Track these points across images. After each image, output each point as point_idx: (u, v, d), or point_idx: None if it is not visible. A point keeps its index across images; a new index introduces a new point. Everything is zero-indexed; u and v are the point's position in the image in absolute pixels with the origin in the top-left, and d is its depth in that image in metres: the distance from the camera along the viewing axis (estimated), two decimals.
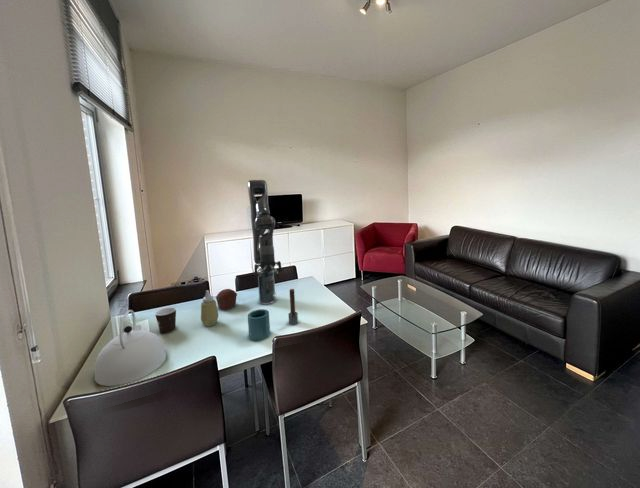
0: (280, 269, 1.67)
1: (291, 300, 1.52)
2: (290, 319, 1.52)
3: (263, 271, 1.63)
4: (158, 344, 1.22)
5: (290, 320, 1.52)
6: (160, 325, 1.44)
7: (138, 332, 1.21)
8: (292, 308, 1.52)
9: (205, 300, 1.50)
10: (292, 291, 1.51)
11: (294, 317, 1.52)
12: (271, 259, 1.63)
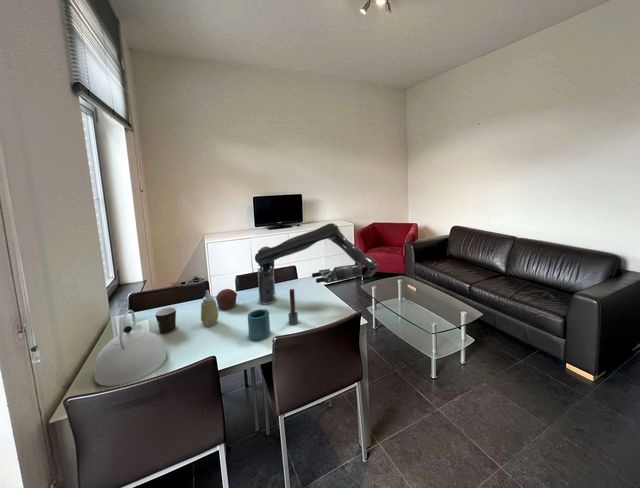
0: None
1: (291, 300, 1.52)
2: (290, 319, 1.52)
3: (327, 280, 1.57)
4: (157, 344, 1.22)
5: (290, 320, 1.52)
6: (160, 325, 1.44)
7: (138, 332, 1.21)
8: (292, 308, 1.52)
9: (205, 300, 1.50)
10: (292, 291, 1.51)
11: (294, 317, 1.52)
12: None
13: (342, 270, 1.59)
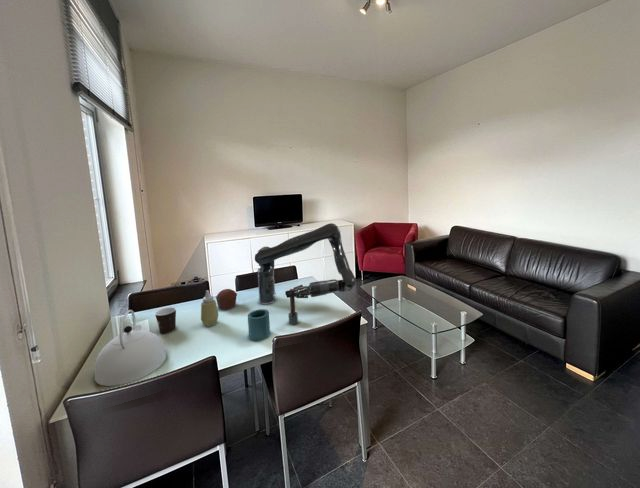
0: None
1: (291, 300, 1.52)
2: (290, 319, 1.52)
3: (300, 295, 1.53)
4: (157, 344, 1.22)
5: (290, 320, 1.52)
6: (160, 325, 1.44)
7: (138, 332, 1.21)
8: (292, 308, 1.52)
9: (205, 300, 1.50)
10: (292, 291, 1.51)
11: (294, 317, 1.52)
12: None
13: (318, 286, 1.55)
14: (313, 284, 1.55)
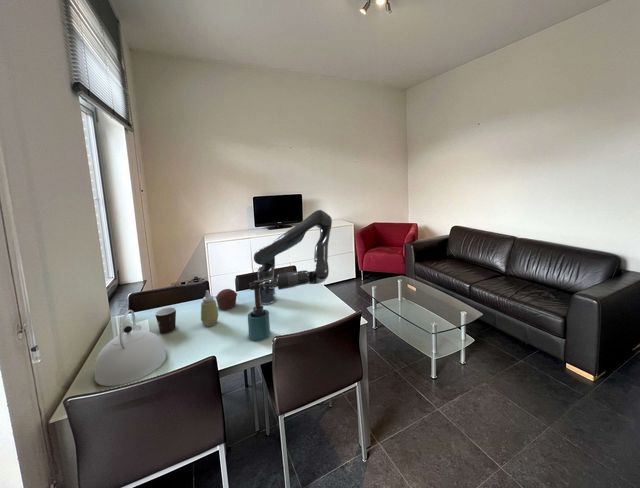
0: None
1: (255, 293, 1.39)
2: (255, 313, 1.39)
3: None
4: (157, 344, 1.22)
5: (255, 314, 1.39)
6: (160, 325, 1.44)
7: (138, 332, 1.21)
8: (257, 301, 1.39)
9: (205, 300, 1.50)
10: (256, 283, 1.38)
11: (259, 311, 1.39)
12: None
13: (285, 277, 1.42)
14: (280, 275, 1.42)
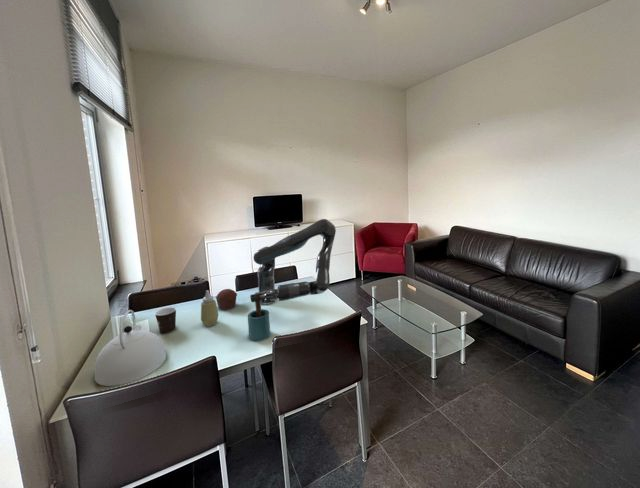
0: None
1: (256, 304, 1.39)
2: None
3: None
4: (157, 344, 1.22)
5: None
6: (160, 325, 1.44)
7: (138, 332, 1.21)
8: (258, 313, 1.40)
9: (205, 300, 1.50)
10: (257, 295, 1.39)
11: None
12: None
13: (286, 289, 1.43)
14: (281, 287, 1.43)
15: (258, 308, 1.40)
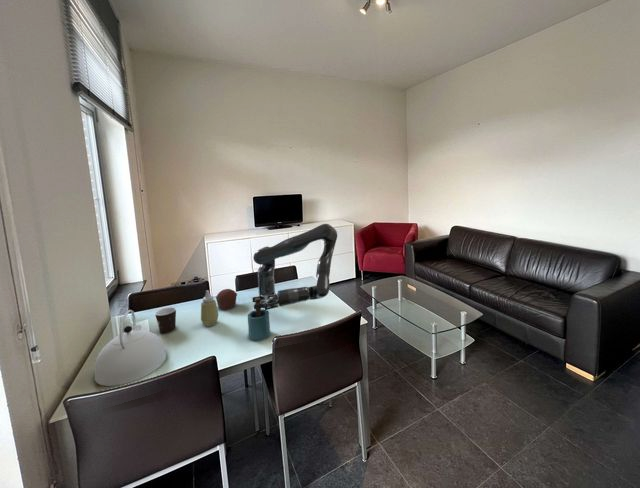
0: None
1: (257, 310, 1.40)
2: None
3: None
4: (157, 344, 1.22)
5: None
6: (160, 325, 1.44)
7: (138, 332, 1.21)
8: None
9: (205, 300, 1.50)
10: (258, 300, 1.39)
11: None
12: None
13: (286, 294, 1.43)
14: (281, 292, 1.43)
15: (258, 313, 1.40)
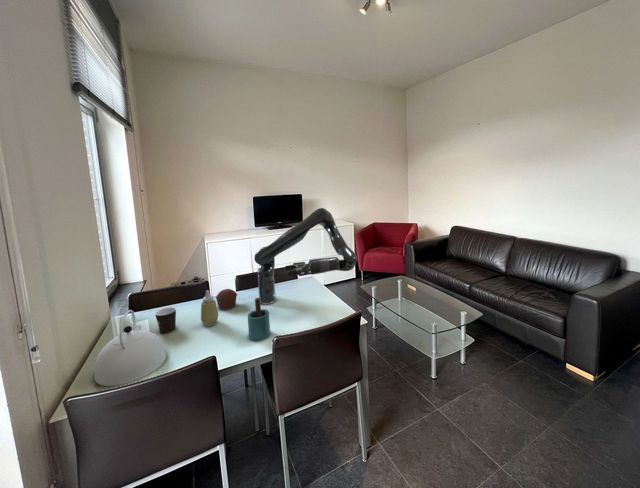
0: None
1: (257, 310, 1.40)
2: None
3: (301, 273, 1.45)
4: (157, 344, 1.22)
5: None
6: (160, 325, 1.44)
7: (138, 332, 1.21)
8: None
9: (205, 300, 1.50)
10: (258, 300, 1.39)
11: None
12: None
13: (317, 263, 1.48)
14: (313, 261, 1.48)
15: (258, 313, 1.40)
